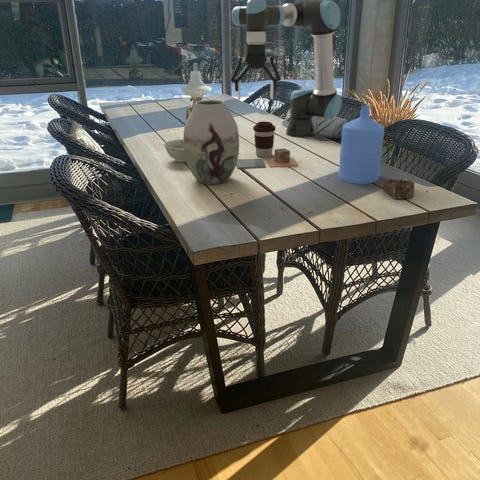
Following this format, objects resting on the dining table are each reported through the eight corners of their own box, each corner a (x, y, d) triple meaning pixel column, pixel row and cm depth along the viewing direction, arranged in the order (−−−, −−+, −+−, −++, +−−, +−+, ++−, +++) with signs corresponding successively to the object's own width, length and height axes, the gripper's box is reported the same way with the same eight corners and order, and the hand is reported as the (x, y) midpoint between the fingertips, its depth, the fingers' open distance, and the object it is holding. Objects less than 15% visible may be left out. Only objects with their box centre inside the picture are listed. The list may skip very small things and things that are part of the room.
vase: (198, 192, 180) (194, 109, 167) (177, 176, 197) (172, 100, 184) (249, 183, 189) (249, 103, 176) (225, 169, 206) (223, 95, 193)
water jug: (371, 188, 182) (379, 111, 171) (331, 181, 190) (337, 107, 178) (384, 176, 194) (392, 105, 182) (346, 170, 202) (352, 101, 190)
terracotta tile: (292, 159, 218) (292, 157, 218) (298, 166, 208) (298, 165, 207) (266, 160, 217) (266, 158, 217) (270, 167, 207) (270, 166, 206)
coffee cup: (273, 159, 218) (273, 125, 212) (251, 158, 220) (251, 124, 214) (276, 153, 227) (276, 120, 221) (255, 152, 229) (255, 120, 223)
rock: (382, 189, 180) (384, 172, 177) (403, 189, 180) (406, 172, 178) (394, 200, 168) (396, 182, 166) (416, 200, 169) (419, 182, 166)
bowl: (206, 156, 223) (205, 140, 220) (191, 166, 210) (190, 149, 206) (174, 154, 228) (173, 138, 225) (158, 163, 214) (157, 146, 211)
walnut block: (284, 159, 215) (285, 148, 213) (289, 162, 211) (290, 151, 209) (274, 160, 214) (274, 149, 211) (279, 163, 209) (279, 152, 207)
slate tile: (261, 160, 217) (261, 158, 217) (265, 168, 206) (265, 166, 206) (234, 161, 216) (234, 159, 216) (237, 169, 205) (237, 167, 205)
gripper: (285, 42, 196) (283, 97, 204) (223, 43, 193) (224, 98, 202) (289, 43, 189) (287, 100, 198) (224, 44, 186) (225, 101, 195)
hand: (255, 99), depth 200 cm, fingers open, 13 cm apart
